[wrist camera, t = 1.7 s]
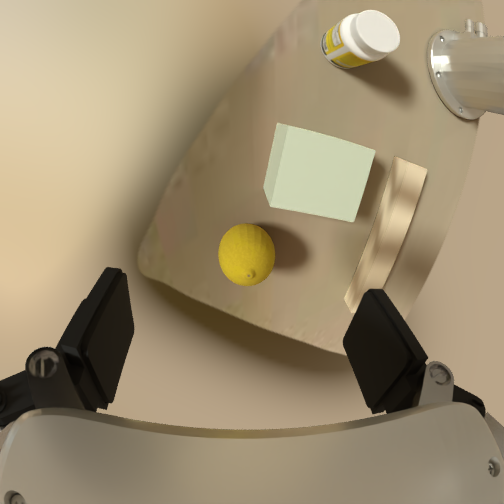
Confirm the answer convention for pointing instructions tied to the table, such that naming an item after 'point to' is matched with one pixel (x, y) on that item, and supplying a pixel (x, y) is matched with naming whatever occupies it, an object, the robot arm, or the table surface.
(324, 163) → the block
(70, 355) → the robot arm
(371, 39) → the supplement bottle
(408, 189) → the beige wavy bar
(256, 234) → the lemon
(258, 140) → the table surface
